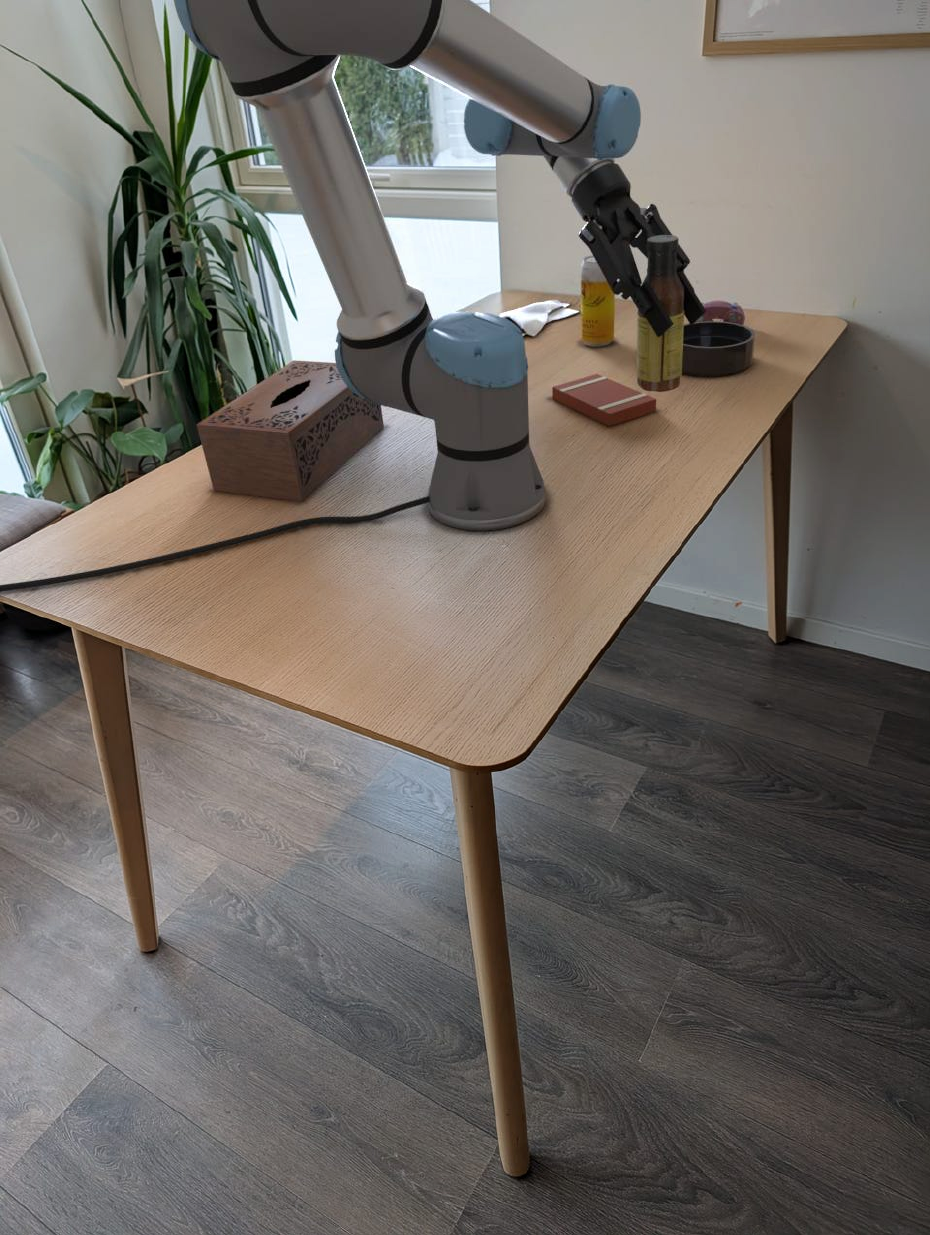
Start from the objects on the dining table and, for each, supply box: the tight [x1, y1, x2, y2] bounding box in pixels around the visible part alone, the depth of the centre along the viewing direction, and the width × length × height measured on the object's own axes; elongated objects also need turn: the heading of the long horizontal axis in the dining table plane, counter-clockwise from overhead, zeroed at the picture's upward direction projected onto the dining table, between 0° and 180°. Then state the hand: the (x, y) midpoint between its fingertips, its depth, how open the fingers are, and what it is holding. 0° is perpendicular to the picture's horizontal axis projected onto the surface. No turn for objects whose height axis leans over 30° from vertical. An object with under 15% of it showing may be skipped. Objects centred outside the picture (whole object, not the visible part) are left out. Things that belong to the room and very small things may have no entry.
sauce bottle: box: [636, 234, 685, 393], centre depth 121 cm, size 7×6×20 cm
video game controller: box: [696, 300, 746, 326], centre depth 165 cm, size 10×5×7 cm, turn 73°
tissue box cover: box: [196, 360, 385, 503], centre depth 131 cm, size 26×14×10 cm, turn 158°
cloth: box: [498, 299, 580, 338], centre depth 180 cm, size 26×14×2 cm, turn 141°
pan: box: [681, 320, 756, 377], centre depth 151 cm, size 14×14×5 cm
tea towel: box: [551, 373, 657, 427], centre depth 141 cm, size 9×15×2 cm, turn 30°
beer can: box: [580, 254, 616, 348], centre depth 162 cm, size 6×6×15 cm
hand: (682, 324), depth 119 cm, fingers closed on sauce bottle, 6 cm apart
